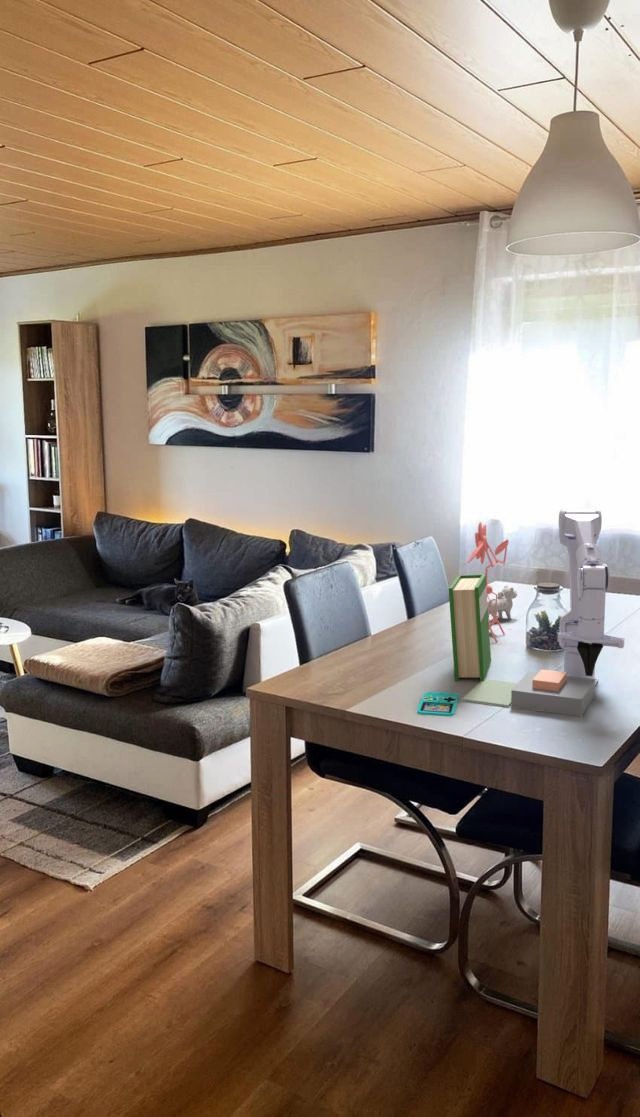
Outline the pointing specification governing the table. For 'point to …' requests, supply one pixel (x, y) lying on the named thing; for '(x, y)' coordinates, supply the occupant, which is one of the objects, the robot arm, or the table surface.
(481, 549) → the figurine
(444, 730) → the table surface
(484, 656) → the hardback book
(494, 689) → the sage mat
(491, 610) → the dog figurine
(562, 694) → the block
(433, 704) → the handheld gaming console
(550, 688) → the terracotta tile
